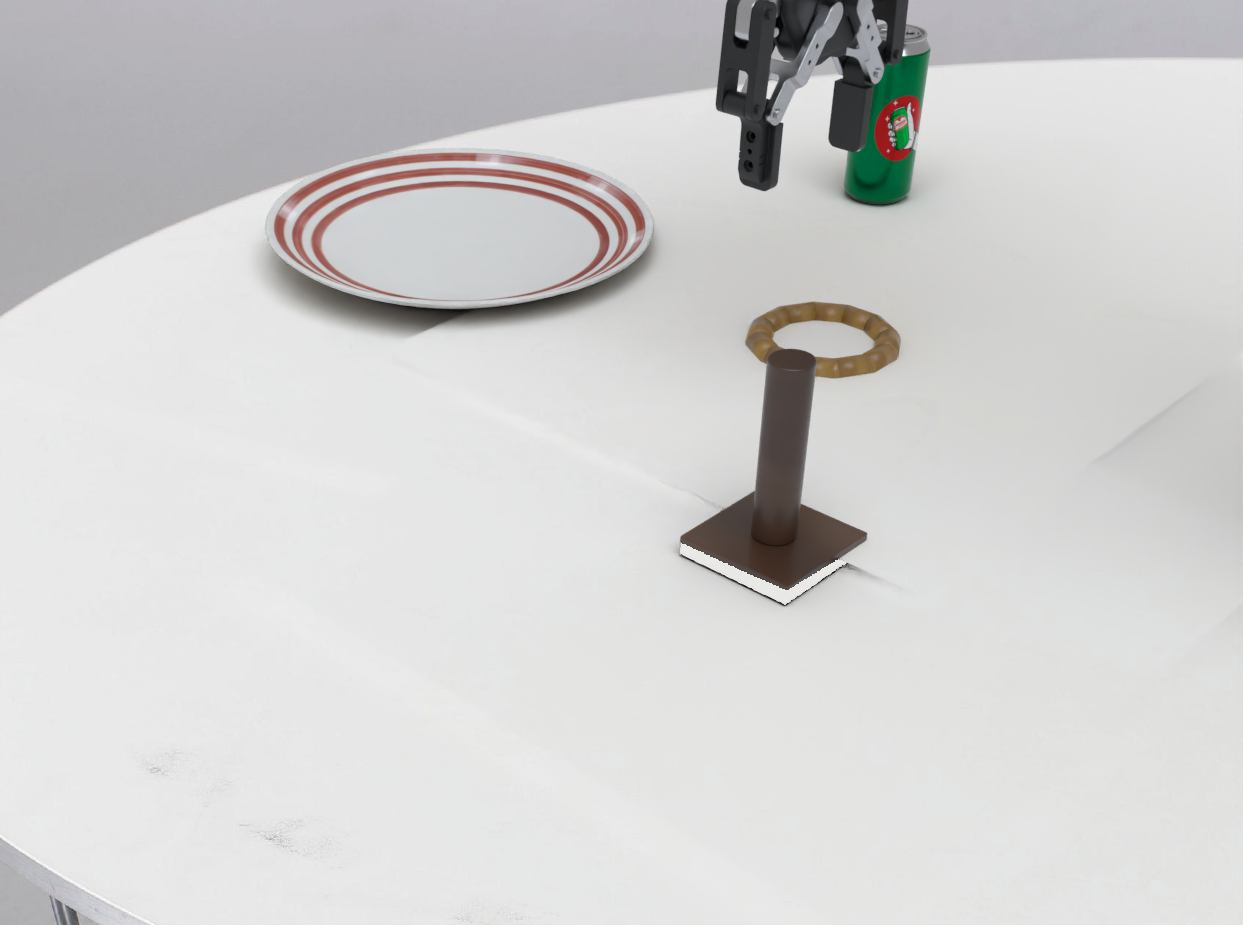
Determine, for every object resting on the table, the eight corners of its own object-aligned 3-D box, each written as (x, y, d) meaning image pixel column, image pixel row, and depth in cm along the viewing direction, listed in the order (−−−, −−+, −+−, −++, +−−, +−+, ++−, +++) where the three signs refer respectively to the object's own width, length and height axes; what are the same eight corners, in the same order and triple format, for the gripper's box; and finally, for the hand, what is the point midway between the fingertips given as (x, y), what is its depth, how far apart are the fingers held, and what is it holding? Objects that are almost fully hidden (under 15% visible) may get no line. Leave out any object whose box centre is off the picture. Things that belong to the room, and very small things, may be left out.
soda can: (849, 179, 127) (868, 18, 120) (914, 186, 126) (937, 24, 119) (837, 202, 124) (856, 38, 116) (903, 210, 122) (927, 44, 115)
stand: (759, 504, 90) (777, 315, 83) (865, 551, 86) (893, 357, 79) (678, 555, 86) (690, 360, 79) (785, 606, 82) (807, 407, 75)
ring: (805, 308, 109) (807, 285, 108) (927, 351, 104) (931, 328, 103) (715, 355, 104) (717, 332, 103) (839, 403, 99) (842, 379, 98)
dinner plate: (711, 223, 121) (714, 178, 119) (545, 374, 102) (545, 325, 100) (395, 166, 131) (392, 124, 129) (192, 295, 112) (185, 248, 110)
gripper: (813, -113, 77) (780, 219, 88) (974, -159, 85) (927, 150, 96) (691, -135, 81) (673, 184, 92) (855, -178, 89) (822, 121, 100)
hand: (803, 166), depth 94 cm, fingers open, 8 cm apart
